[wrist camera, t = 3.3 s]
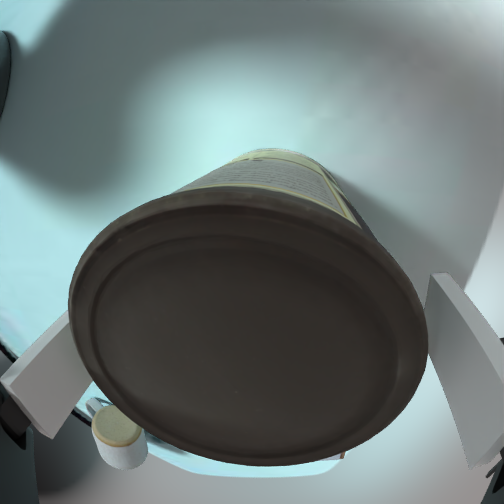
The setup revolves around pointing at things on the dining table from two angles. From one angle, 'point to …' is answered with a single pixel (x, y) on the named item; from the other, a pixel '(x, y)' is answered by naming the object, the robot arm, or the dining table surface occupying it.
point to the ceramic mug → (117, 436)
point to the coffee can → (250, 316)
